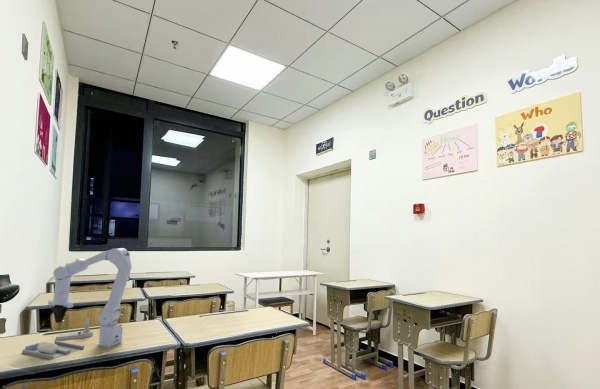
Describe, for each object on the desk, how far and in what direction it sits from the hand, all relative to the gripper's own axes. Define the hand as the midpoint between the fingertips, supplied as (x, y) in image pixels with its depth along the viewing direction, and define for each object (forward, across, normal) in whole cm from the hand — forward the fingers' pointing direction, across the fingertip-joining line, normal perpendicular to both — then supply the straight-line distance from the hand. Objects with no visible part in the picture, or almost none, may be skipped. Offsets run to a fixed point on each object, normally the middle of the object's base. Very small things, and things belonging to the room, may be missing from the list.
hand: (58, 322), depth 153 cm
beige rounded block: (+9, -10, +11) cm, 17 cm away
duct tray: (+10, -9, +7) cm, 15 cm away
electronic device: (+10, +1, -9) cm, 14 cm away
